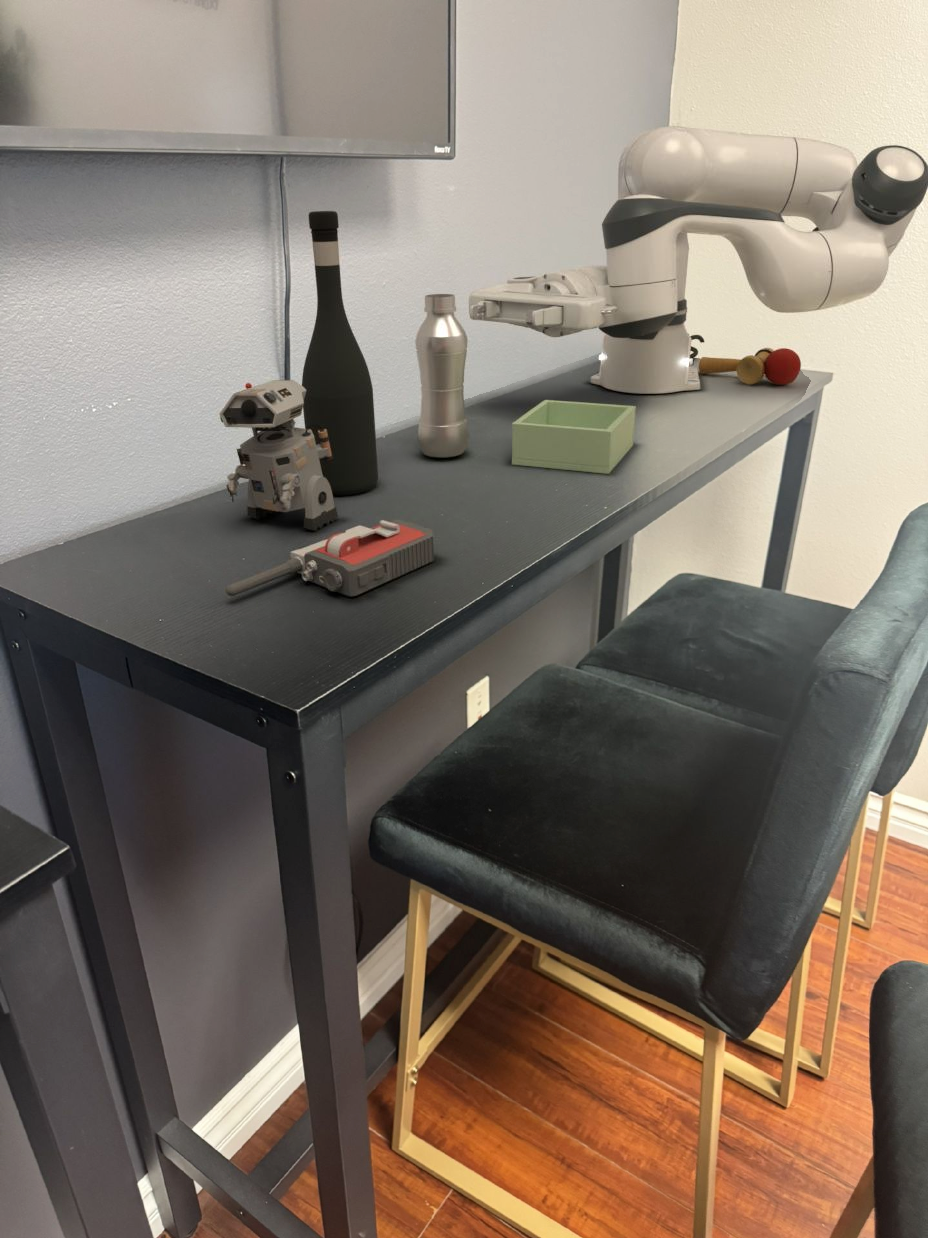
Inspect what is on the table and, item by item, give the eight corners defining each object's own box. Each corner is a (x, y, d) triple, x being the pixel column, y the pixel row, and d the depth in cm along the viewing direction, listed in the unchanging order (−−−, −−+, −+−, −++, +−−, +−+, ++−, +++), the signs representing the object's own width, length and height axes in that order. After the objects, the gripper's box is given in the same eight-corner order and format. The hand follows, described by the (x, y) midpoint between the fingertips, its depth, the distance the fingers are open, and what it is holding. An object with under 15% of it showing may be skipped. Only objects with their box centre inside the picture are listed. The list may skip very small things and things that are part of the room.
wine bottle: (331, 474, 111) (308, 209, 98) (389, 480, 109) (373, 209, 96) (298, 494, 105) (269, 212, 91) (360, 501, 102) (338, 212, 89)
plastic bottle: (412, 452, 120) (405, 294, 111) (460, 446, 122) (457, 291, 113) (426, 465, 114) (420, 300, 105) (476, 459, 116) (474, 296, 107)
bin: (543, 437, 125) (544, 399, 123) (633, 445, 121) (635, 406, 119) (511, 464, 114) (511, 423, 112) (608, 474, 110) (611, 431, 107)
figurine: (211, 537, 93) (188, 391, 86) (282, 504, 102) (266, 369, 95) (280, 552, 89) (262, 400, 82) (347, 516, 98) (336, 376, 91)
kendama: (689, 385, 160) (787, 384, 148) (691, 348, 158) (790, 344, 146) (711, 386, 165) (806, 385, 153) (713, 350, 164) (810, 346, 152)
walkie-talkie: (384, 537, 92) (221, 602, 78) (381, 496, 90) (214, 556, 76) (448, 557, 87) (286, 631, 73) (447, 514, 85) (280, 582, 71)
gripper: (622, 332, 124) (566, 347, 114) (504, 321, 136) (444, 333, 126) (625, 284, 121) (568, 295, 112) (504, 276, 133) (443, 286, 123)
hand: (501, 315), depth 119 cm, fingers open, 8 cm apart
